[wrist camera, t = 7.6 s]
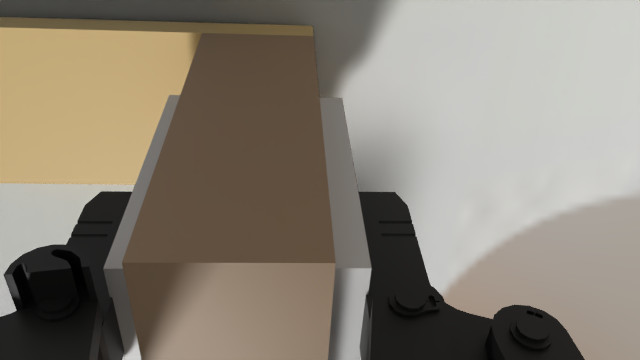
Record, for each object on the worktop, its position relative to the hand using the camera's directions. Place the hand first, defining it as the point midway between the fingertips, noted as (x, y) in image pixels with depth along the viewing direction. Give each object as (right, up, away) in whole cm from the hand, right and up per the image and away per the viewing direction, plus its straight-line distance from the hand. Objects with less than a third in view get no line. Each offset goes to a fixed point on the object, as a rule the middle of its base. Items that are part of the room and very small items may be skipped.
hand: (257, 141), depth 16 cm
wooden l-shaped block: (-4, +1, +2) cm, 4 cm away
